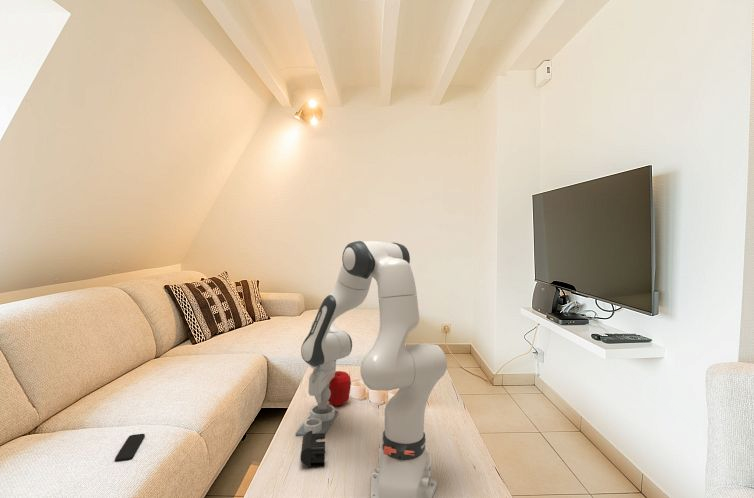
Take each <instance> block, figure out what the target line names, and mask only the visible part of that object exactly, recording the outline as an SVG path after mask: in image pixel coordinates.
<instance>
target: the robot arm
mask: <svg viewBox="0 0 754 498" xmlns="http://www.w3.org/2000/svg"><path fill="white" fill-rule="evenodd" d="M341 258H342V259H341V260H342V265H341V267H340V270H339V273H338V277H337V279H336V282H335V285H334V286H333V288H332V290H331V291H330V293H329V294H328V295H327V296H325V298H324V299H323V301H322V303H321V304H320V307H318V308H319V309H318V311H317V314H316V316H315V318H314V320H313V321H312V324H311V327H310V330H309V333H308V334H307V336H306V337H305V339H304V341H303V343H302V345H301V349H300V351H301V352H300V353H301V358H302V359H303V361H304V362H305V363H306V364H307V365H308V366H310V368H311V369H312V372H311V373H310V375H309V377H308V395H309V396H311V397H315V396H316V399H315V401H316V403H317V404H318V403H321V401H322V397H321V393H322V391H323V390H324V388H325V387H326V386H327V387H328V388H329V384H330V381H331V380H332V379H333V378H334V376H335V371H337V370H336V367H337V360H340V359H341V360H342V359H344V358H346V357H349V356H350V354H351V352H352V349H353V341H352V340H353V339H352V338H351V336H350V334H348V333H347V331H344V330H341V329H340V328H339V327H338V326H336V325H335V322H334V321H335V320H336V319H337V318H339V317H340V316H342V315H344V314H345V313H347V312H349V311H351V310H354V309H356V308H357V307H359V306H361V305H362V304H363V303H364V301H366V298H367V296H368V293H369V291H370V288H371V285H372V280H373V279H374V281H376V285H377V295H378V305H379V307H378V309H379V330H378V334H377V338H376V340H375V342H374V344H373V346H371V349H370V350H369V351H368V352H367V353H366V355H365V356H364V357H363V359H362V361H361V364H360V376H361V379H362V381H363V384H364V385H365V386H366V387H367V388H368V389H369V390H371V391H380V392H381V391H387V392H388V391H394V390H397V391H396V393H395V394H394V395H393V396H392V397H391V398H390V399H389V400H388V401H387V402H386V404H385V408H384V430H383V432H382V439H381V440H382V441H381V442H382V443H381V444H382V445H381V447H380V448H378V467H376V468H375V470H374V471H373V472H372V473H371V475H370V486H369V487H370V490H369V494H370V495H369V498H433V497H434V494H435V492H436V491H437V488H438V482H437V480H436V479H434V478H432V477H431V476H432V475H431V474H432V473H431V454H430V453H429V452H428V451H427V449H426V443H427V442H426V441H427V440H426V433H425V431H424V430H425V412H426V407H427V402H428V400H429V397H430V395H431V393H432V391H433V389H434V388H435V386H436V384H437V383H438V382H439V380H441V379H442V378H443V377H444V376H445V374H446V372H447V367H448V359H447V355H446V354H445V352H444V350H443V349H442V347H440V346H439V345H437V344H433V343H415V344H408V345H406V342H407V341H406V340H407V338H408V335H409V334H410V333H411V332H412V331H414V329H416V328H417V327H418V325H419V322H420V311H419V301H418V293H417V287H416V281H415V276H414V273H413V269H412V268H411V264H410V263H411V256H410V252H409V250H408V248H407V247H406V246H405V245H403V244H401V243H399V242H388V241H380V240H365V241H361V240H358V241H356V240H355V241H352V242H349V243H347V245H345V248H344V249H343V252H342V257H341Z"/></svg>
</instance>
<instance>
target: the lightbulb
mask: <svg viewBox="0 0 754 498" xmlns="http://www.w3.org/2000/svg"><path fill="white" fill-rule="evenodd" d="M330 395H331V392H330V389H329V388H328V387H327V386H326V387H325V388H324V390H323V391H322V393H321V397H322V401H321V403H317V405H318V408H319V414H325V413H326V407H327V404H328V402H329V401H328V400H329V398H330ZM314 399H315V400H316V396H314Z"/></svg>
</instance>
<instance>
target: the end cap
mask: <svg viewBox="0 0 754 498" xmlns="http://www.w3.org/2000/svg"><path fill="white" fill-rule="evenodd" d="M324 439H326V434H325V433H318V434H312V431H309V432H307V433H306V434H305V435H304V437H302V444H301V450H300V462H301V463H302V464H303V466H306V467H307V468H309V469H316V468H317V469H318V468H319V469H320V468H325V464H326V463H325V462H326V461H325V458H326V441H318V440H324Z"/></svg>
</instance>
